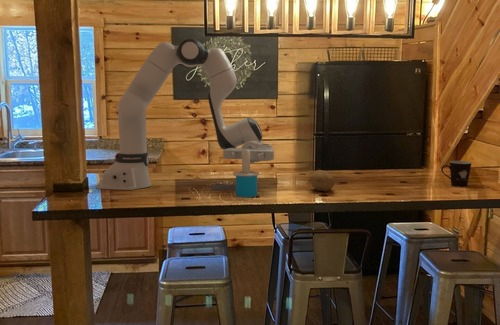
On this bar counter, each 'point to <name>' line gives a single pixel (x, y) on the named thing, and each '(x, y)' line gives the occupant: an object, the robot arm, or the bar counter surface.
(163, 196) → the bar counter surface
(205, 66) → the robot arm
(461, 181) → the coffee mug
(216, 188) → the mat
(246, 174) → the white post stand
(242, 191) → the mug
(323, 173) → the potato
